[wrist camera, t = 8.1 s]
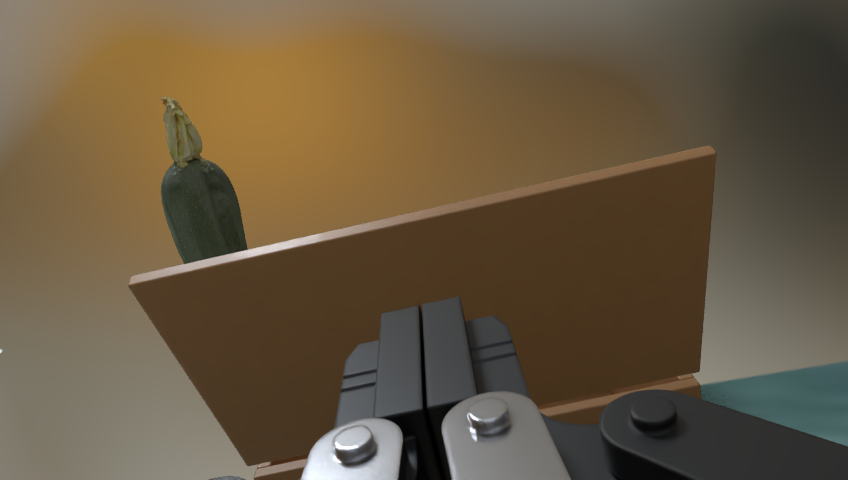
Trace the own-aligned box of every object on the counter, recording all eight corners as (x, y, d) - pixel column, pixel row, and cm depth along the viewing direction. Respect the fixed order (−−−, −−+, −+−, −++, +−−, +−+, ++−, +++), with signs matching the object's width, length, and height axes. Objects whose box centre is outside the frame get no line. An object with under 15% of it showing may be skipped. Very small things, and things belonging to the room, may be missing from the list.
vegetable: (293, 401, 44) (189, 93, 38) (227, 416, 44) (112, 111, 38) (300, 367, 48) (207, 84, 42) (240, 381, 48) (139, 101, 42)
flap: (710, 144, 17) (717, 152, 17) (694, 362, 22) (700, 372, 22) (130, 275, 18) (127, 286, 17) (248, 456, 23) (247, 467, 23)
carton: (599, 356, 41) (577, 223, 38) (722, 584, 25) (700, 384, 22) (354, 408, 42) (316, 282, 39) (321, 662, 26) (252, 477, 23)
